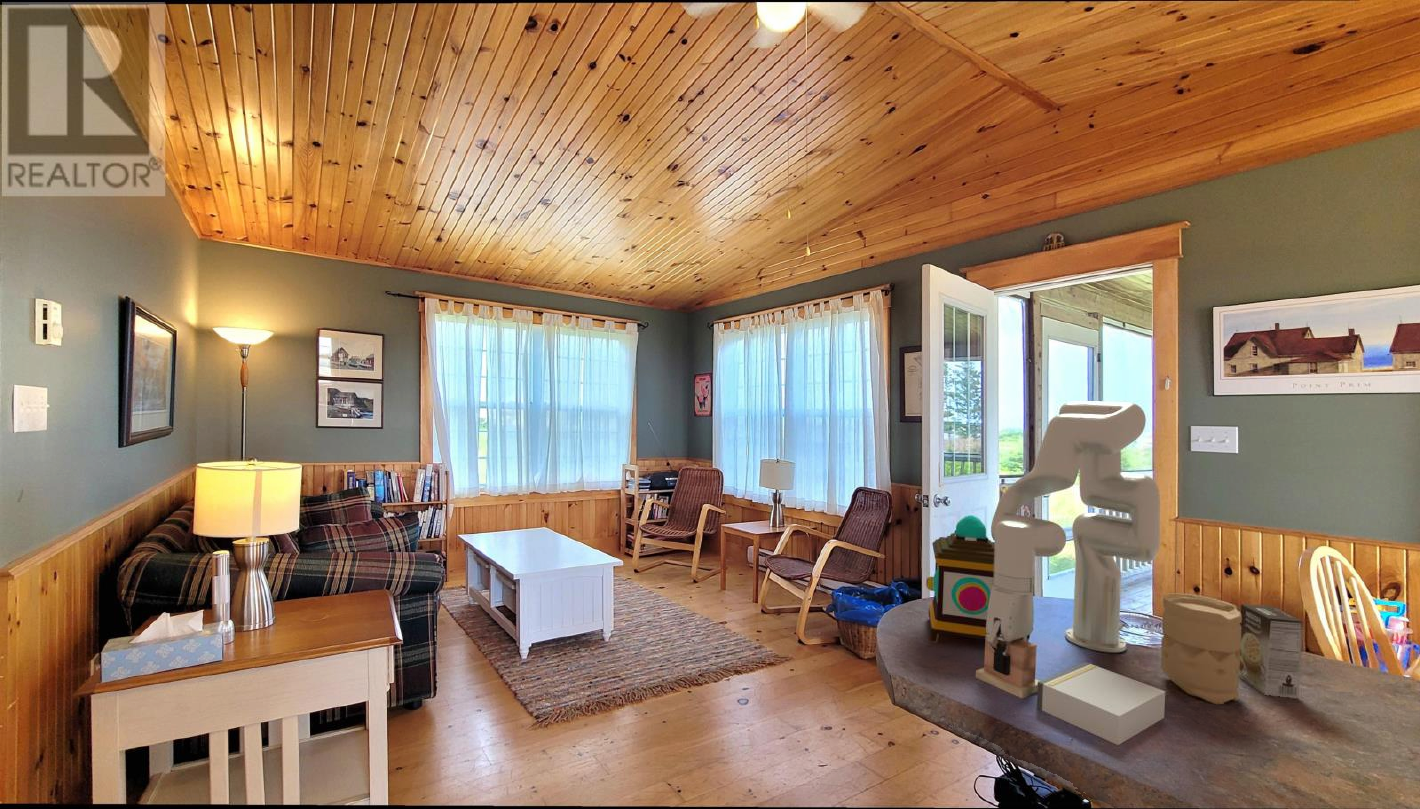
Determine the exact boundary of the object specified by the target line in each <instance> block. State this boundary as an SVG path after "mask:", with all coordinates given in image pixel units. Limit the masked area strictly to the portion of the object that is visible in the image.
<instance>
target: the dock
mask: <svg viewBox="0 0 1420 809" xmlns="http://www.w3.org/2000/svg"><path fill="white" fill-rule="evenodd" d="M1036 693H1037V694H1036V708H1037V709H1038V710H1041V711H1042V712H1044V713H1047V714H1049V715H1051V716H1053V717H1056V718H1057V719H1060V720H1062V721H1064V722H1066V723H1069V724H1071V725H1073V726H1075V727H1078V728H1080V729H1082V730H1084V731H1086V732H1088V733H1091V734H1093V735H1095V736H1097V737H1099V738H1101V739H1104V740H1106V741H1108V742H1110V743H1111V744H1114V745H1117V746H1119V745H1121V744H1122V743H1124V742H1126V741H1128V740H1130V739H1132V738H1133V737H1135V736H1136V735H1138V734H1140V733H1141V732H1143V731H1145V730H1147V729H1149V728H1150V727H1152V726H1153V725H1155V724H1156V723H1159V721H1162V720H1163V719H1165V704H1166V702H1165V701H1166V691H1165V690H1162V689H1160V688H1157V687H1154V686H1151V685H1149V684H1146V683H1143V682H1141V681H1137V680H1135V679H1133V678H1129V677H1127V676H1125V675H1121V674H1120V673H1118V672H1117V673H1116V672H1113V671H1111V670H1108V669H1105V668H1102V667H1100V666H1099V665H1098V666H1097V665H1095V664H1091V663H1088V662H1086V661H1085V662H1082V663H1080V664H1078V665H1075V666H1073V667H1071V668H1068V669H1065V670H1063V671H1061V672H1058V673H1056V674H1054V675H1051V676H1048V677H1046V678H1044V679H1042V680H1040V681H1039V682H1038V687H1037V692H1036Z"/></svg>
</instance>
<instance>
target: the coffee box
mask: <svg viewBox="0 0 1420 809" xmlns="http://www.w3.org/2000/svg"><path fill="white" fill-rule="evenodd" d="M1240 613H1241V617H1242V622H1241V623H1240V625H1241V647H1240V667H1239V679H1242V680H1243V681H1245V682H1246V683H1247V684H1249V685H1250V686H1252V687H1253V688H1254V689H1256V690H1257V691H1259V692H1260V693H1261V694H1263V695H1265V696H1269V695H1271V696H1270V697H1278V696H1280V698H1287V697H1289V699H1296V698H1299V697H1300V696H1299V695H1300V683H1301V682H1300V679H1301V667H1302V666H1301V661H1302V647H1303V644H1302V643H1303V632H1304V631H1303V629H1304V621H1303V620H1301V619H1299V618H1297V617H1295V616H1293V615H1291V614H1289V613H1287V612H1285V611H1284V610H1282V609H1280V608H1278V607H1276V606H1273V605H1272V606H1271V605H1259V604H1246V603H1245V604H1244V603H1241V604H1240Z"/></svg>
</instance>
